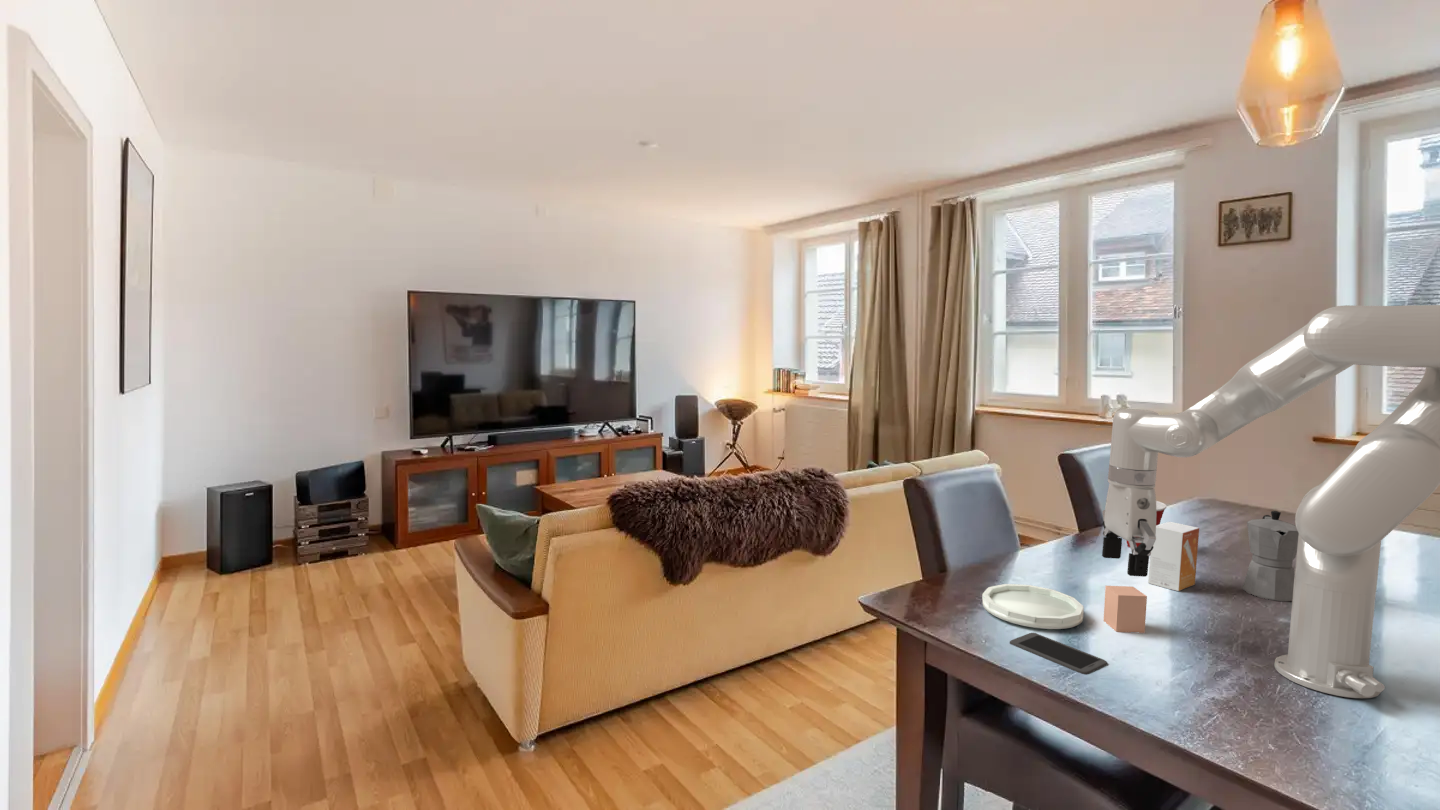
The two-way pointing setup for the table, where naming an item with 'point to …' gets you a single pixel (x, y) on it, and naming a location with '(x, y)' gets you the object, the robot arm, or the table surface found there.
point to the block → (1125, 609)
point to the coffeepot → (1271, 558)
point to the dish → (1033, 606)
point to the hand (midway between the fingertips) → (1123, 566)
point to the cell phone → (1059, 653)
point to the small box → (1174, 556)
